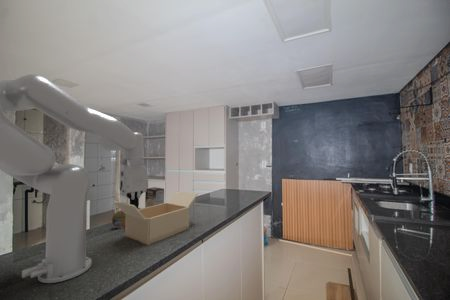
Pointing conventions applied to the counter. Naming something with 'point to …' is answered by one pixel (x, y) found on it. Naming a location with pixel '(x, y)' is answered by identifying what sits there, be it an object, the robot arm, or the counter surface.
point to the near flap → (130, 210)
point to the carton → (157, 223)
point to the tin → (119, 219)
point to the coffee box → (154, 196)
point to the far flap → (183, 199)
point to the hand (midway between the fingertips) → (134, 208)
